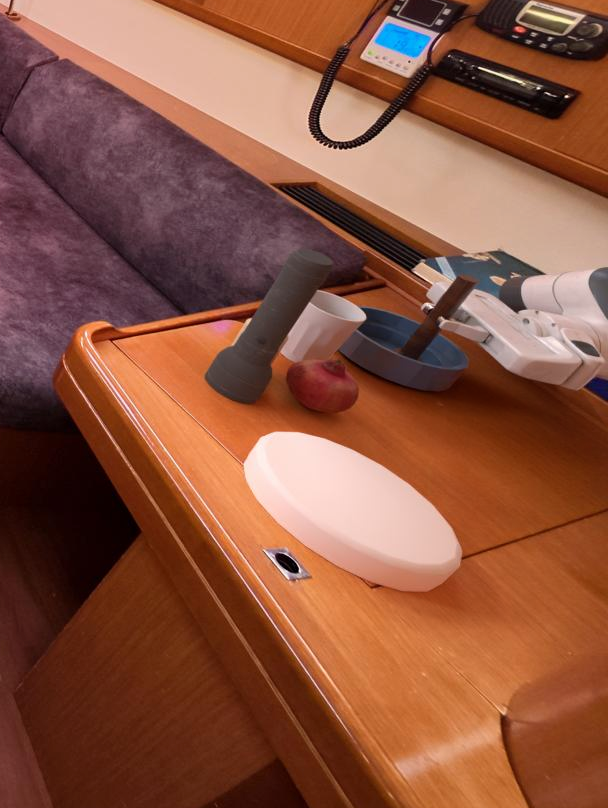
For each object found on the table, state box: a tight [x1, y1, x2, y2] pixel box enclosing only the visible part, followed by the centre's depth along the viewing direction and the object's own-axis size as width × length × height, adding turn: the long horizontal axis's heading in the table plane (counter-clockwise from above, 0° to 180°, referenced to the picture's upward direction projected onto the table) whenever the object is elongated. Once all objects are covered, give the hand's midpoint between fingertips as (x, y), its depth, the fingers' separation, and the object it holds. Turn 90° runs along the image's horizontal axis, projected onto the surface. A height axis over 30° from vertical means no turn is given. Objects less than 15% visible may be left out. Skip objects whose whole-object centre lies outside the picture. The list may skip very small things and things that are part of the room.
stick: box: [393, 273, 480, 362], centre depth 106 cm, size 4×4×18 cm
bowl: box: [337, 305, 470, 392], centre depth 111 cm, size 15×15×6 cm
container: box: [242, 431, 463, 593], centre depth 85 cm, size 20×20×5 cm
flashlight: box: [204, 247, 334, 405], centre depth 99 cm, size 7×28×7 cm
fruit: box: [285, 358, 360, 414], centre depth 101 cm, size 8×8×10 cm
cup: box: [279, 289, 366, 364], centre depth 110 cm, size 8×8×12 cm
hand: (432, 315), depth 106 cm, fingers closed on stick, 2 cm apart
